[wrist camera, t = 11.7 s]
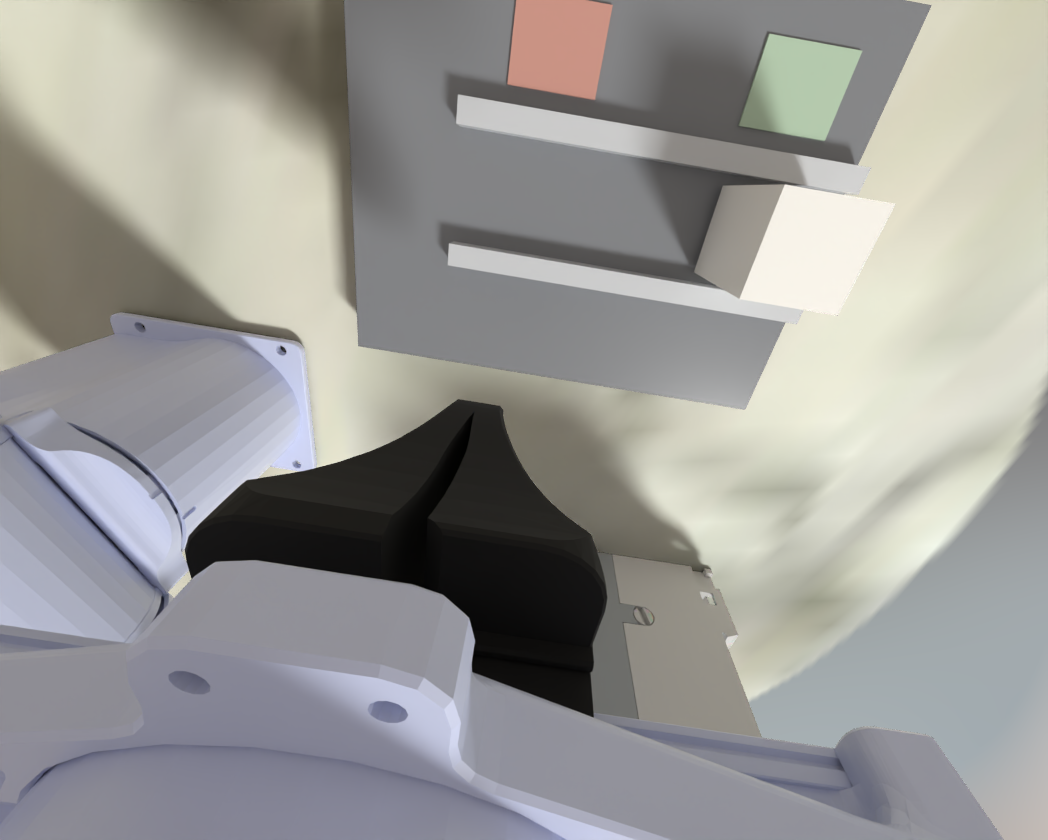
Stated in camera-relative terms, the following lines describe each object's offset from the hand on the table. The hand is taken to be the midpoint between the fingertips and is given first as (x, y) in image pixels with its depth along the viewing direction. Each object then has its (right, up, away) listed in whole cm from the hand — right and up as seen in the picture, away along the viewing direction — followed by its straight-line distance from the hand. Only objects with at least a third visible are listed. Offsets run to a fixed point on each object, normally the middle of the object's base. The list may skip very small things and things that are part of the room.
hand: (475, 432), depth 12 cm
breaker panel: (+4, +9, +5) cm, 11 cm away
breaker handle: (+10, +7, +3) cm, 13 cm away
